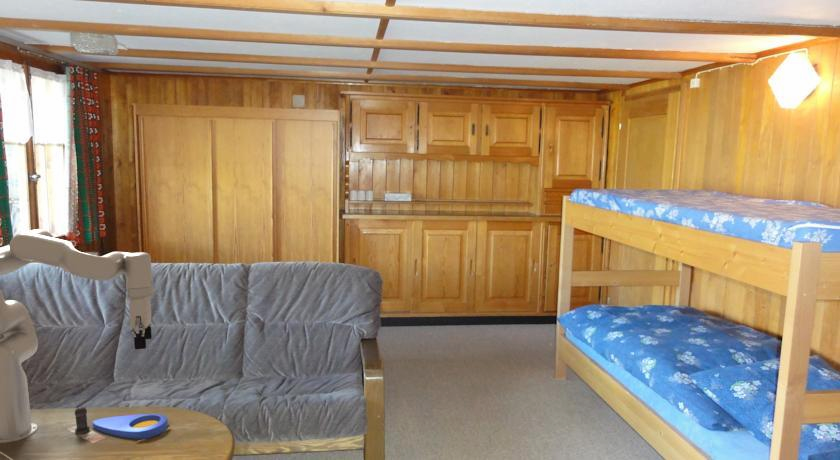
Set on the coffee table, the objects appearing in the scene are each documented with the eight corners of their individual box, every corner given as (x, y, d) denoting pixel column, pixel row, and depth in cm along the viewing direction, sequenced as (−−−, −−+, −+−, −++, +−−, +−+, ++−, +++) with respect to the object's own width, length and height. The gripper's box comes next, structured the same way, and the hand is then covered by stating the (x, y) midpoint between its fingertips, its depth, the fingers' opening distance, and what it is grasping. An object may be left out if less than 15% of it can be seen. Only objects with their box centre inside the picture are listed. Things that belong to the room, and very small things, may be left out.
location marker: (80, 438, 189) (153, 441, 186) (79, 428, 189) (152, 431, 186) (107, 420, 202) (176, 422, 199) (106, 410, 202) (175, 413, 199)
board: (64, 431, 193) (64, 429, 193) (80, 425, 197) (80, 423, 197) (91, 445, 184) (91, 443, 183) (107, 439, 188) (107, 437, 188)
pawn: (72, 432, 191) (70, 407, 190) (85, 427, 194) (83, 403, 193) (79, 435, 189) (77, 411, 187) (92, 430, 192) (89, 406, 191)
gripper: (132, 286, 196) (136, 336, 198) (120, 299, 179) (124, 353, 181) (157, 284, 198) (160, 334, 200) (147, 297, 181) (151, 351, 183)
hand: (143, 343), depth 191 cm, fingers open, 9 cm apart
